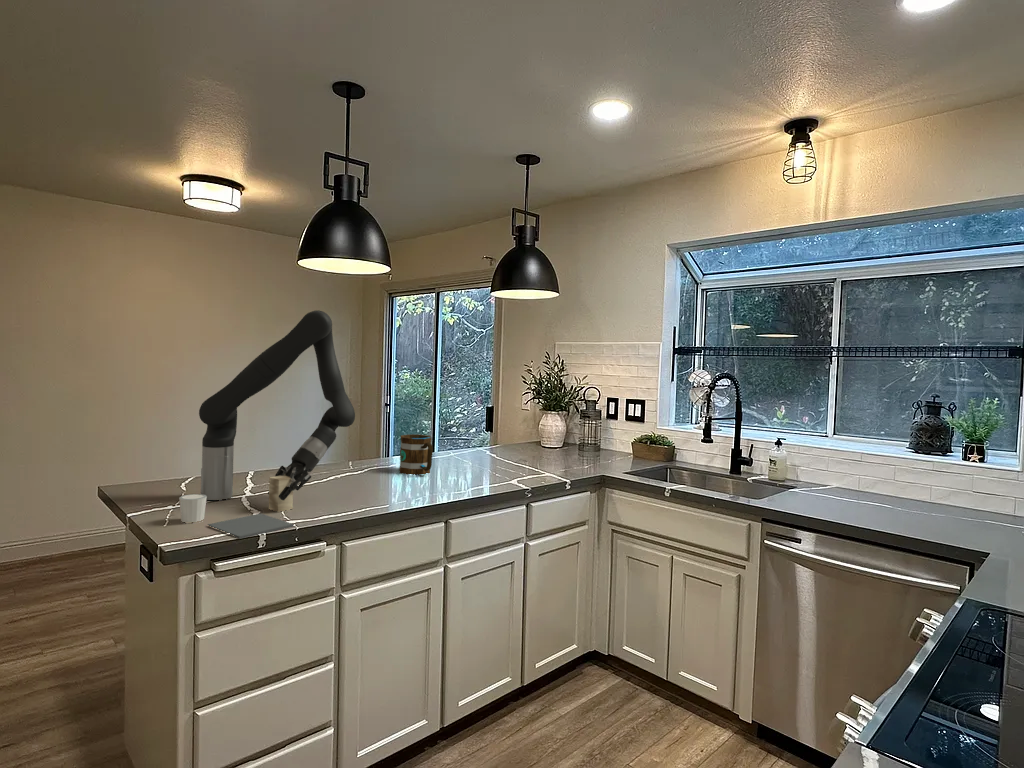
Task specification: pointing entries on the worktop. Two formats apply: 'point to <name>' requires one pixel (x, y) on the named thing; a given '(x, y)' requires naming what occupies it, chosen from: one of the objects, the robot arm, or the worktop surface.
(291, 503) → the birch block
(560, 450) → the worktop surface
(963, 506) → the worktop surface
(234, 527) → the slate mat
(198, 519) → the white tapered cup
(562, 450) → the worktop surface
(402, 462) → the mug
